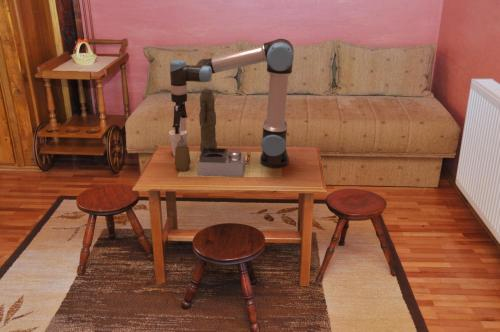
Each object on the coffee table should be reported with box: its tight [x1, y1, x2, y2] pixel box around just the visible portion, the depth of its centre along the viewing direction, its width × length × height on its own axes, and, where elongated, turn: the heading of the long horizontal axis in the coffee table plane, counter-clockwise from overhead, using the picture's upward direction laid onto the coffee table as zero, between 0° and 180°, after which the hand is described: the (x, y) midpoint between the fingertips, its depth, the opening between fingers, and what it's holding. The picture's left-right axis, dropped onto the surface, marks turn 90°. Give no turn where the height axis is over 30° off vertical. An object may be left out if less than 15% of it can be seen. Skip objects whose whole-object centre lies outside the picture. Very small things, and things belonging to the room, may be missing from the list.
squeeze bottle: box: [174, 135, 192, 172], centre depth 261 cm, size 8×8×18 cm
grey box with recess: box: [197, 147, 246, 178], centre depth 263 cm, size 22×18×10 cm
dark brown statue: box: [198, 90, 218, 153], centre depth 276 cm, size 9×12×35 cm
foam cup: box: [168, 128, 188, 157], centre depth 280 cm, size 10×9×13 cm
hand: (180, 134), depth 258 cm, fingers open, 13 cm apart
